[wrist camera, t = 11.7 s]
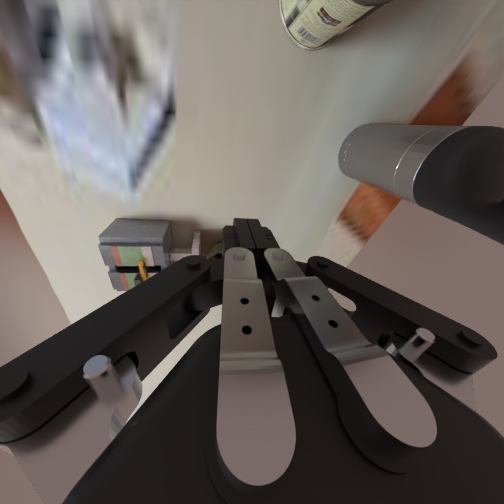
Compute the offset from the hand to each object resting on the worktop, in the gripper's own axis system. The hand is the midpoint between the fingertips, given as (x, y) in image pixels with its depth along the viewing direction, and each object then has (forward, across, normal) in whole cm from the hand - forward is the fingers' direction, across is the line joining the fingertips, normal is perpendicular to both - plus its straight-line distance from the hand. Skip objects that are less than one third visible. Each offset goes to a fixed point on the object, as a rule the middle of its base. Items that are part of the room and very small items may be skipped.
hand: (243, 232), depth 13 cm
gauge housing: (+27, +15, +18) cm, 36 cm away
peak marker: (+19, +15, +20) cm, 31 cm away
